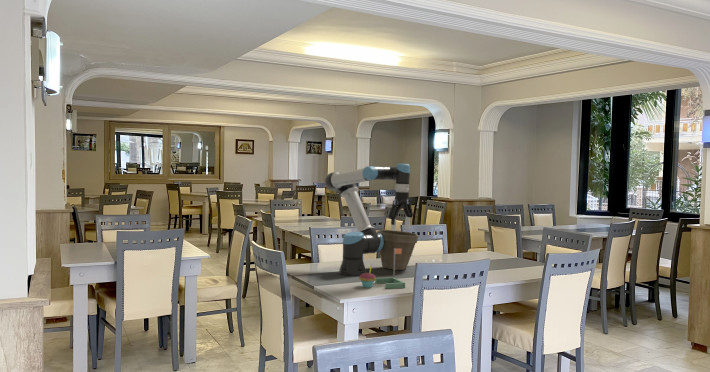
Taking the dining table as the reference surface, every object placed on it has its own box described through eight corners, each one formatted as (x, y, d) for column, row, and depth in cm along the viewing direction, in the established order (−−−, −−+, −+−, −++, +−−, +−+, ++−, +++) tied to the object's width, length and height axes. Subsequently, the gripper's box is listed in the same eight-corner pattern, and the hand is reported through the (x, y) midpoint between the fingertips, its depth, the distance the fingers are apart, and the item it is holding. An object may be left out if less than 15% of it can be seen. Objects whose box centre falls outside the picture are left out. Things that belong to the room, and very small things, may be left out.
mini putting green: (386, 288, 283) (386, 253, 282) (374, 282, 297) (375, 248, 297) (412, 287, 288) (413, 252, 287) (400, 281, 302) (401, 248, 302)
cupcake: (375, 285, 291) (375, 262, 291) (376, 288, 283) (376, 264, 282) (358, 284, 291) (359, 261, 291) (359, 288, 283) (359, 264, 282)
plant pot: (422, 269, 342) (425, 234, 342) (400, 273, 323) (403, 235, 322) (389, 263, 358) (392, 229, 357) (366, 265, 338) (369, 230, 338)
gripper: (394, 192, 298) (392, 232, 299) (420, 191, 317) (418, 228, 318) (383, 191, 303) (381, 230, 304) (409, 190, 322) (407, 227, 323)
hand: (400, 229), depth 311 cm, fingers open, 13 cm apart
